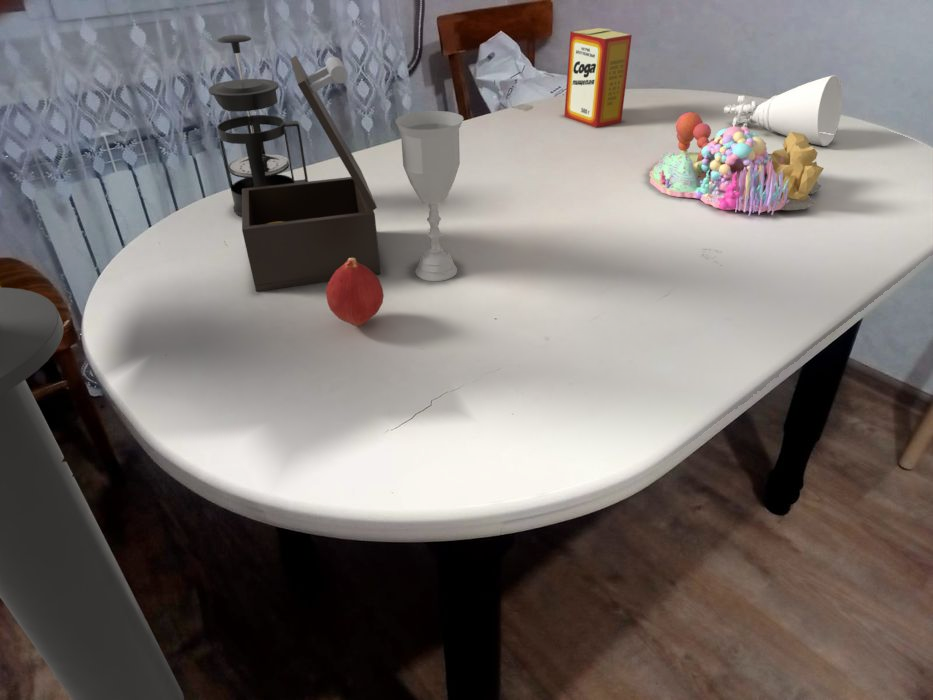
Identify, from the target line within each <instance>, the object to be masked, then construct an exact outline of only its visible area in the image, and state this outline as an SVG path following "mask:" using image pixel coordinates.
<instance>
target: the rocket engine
mask: <svg viewBox="0 0 933 700" xmlns="http://www.w3.org/2000/svg"><path fill="white" fill-rule="evenodd" d="M842 87H843V86H842V82H841V80H840V77H839V76H837V74H832V75H829V76H825V77H822V78H818V79H815V80H812V81H809V82H807V83H804V84H800V85H799V86H796V87H793V88H791V89H789V90H786V91H784V92H782V93H779V94H778V95H777V94H776V95H773V96H771V97H770V98H768V99H767V100H765V101H762V102H761V103H760V104H758V105H757V101H756V100H752V101H751V104H750V103H749V100H748V98H747V96H746V95H738V96H737V97H738V98H737V99H736V101H737V105H736V104H735V103H733V104H732V105H731V104H729V103H728V104H727V105H725V106H724V108H723V113H724V114H735V116H734V117H733V121H732V123H731V125H732V126H738V125H740V124H743V125H742V126H741V127H740V128H743V127H748V125H751V126H754V125H756V124H758V125H759V126H761V127H764V128H765V129H767V130H768V131H769V132H770V133H774V132H775V133H778V134H780V135H782V136H785V137H787V136H788V135H789V134H790V132H795V133H800V134H804V135H805V136H806V137H807V139H808V142H809V144H812V145H816V146H822V147H827V146H829V145H830V144H831V143H832V141H833V139H834V138H835V136H834V135H828V134H823V133H819V132H826V133H831V134H835V135H836V133H837V131H838V128H839V124H840V121H841V120H840V119H841V115H842V109H843V88H842Z"/></svg>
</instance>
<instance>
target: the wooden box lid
mask: <svg viewBox="0 0 933 700" xmlns="http://www.w3.org/2000/svg"><path fill="white" fill-rule="evenodd" d="M290 64H291V67H292V70H293V72H294V76H295V80H296V83H297V86H298V88H299V89H300V91H301V93H302V95H303V96H304V98H305V100H306V101H307V103H308V105H309V107H310V109H311V111H312V112H313V114H314V115H315V117H316V119H317V120H318V123H319V124H320V126H321V127H322V129H323V131H324V133H325V134H326V136H327V137H328V140H329V141H330V143H331V145H332V146H333V148H334V150H335V152H336V153H337V155H338V157H339V159H340V160H341V162H342V164H343V166H344V167H345V169H346V170H347V172H348V174H349V175H350V176H349V177H352V179H353V181H354V182H355V184H356V186H357V188H358V189H359V191H360V193H361V194H362V196H363V198H364V200H365V201H366V203H367V205H368V207H369V208H370V210H371V211H374V210H376V209H378V206H377V204H376V202H375V199H374V197H373V194H372V192H371V190H370V188H369V185H368V183H367V181H366V179H365V176H364V174H363V172H362V169H361V168H360V166H359V164H358V162H357V161H356V159H355V157H354V155H353V154H352V151H351V149H350V148H349V146H348V144H347V142H346V140H345V139H344V137H343V136H342V134H341V132H340V131H339V129H338V126H337V125H336V123H335V121H334V120H333V117H332V116H331V115H330V113H329V111H328V109H327V107H326V106H325V104H324V102H323V100H322V98H321V96H320V95H319V93H318V92H317V91H320V90H321V89H323V88H325V87H326V86H329V85H331V84H332V83H335V84H338V85H341V84H344V83H346V81H347V80H348V77H349V74H348V73H349V72H348V71H347V68H346V67H345V65H344V63H343V62H342V60H341V59H340V58H339V57H338V56H330V57H328V58H327V60H326V62H325V66H324V67H322V68H320V69H318V70H316V71H315V72H313V73H311V74H310V75H308V74H307V71H306V70H305V69H304V67H303V65H302V63H301V62H300V60H299V58H298V57H297V55H295V56H293V57H291V58H290Z"/></svg>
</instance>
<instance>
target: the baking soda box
mask: <svg viewBox="0 0 933 700" xmlns="http://www.w3.org/2000/svg"><path fill="white" fill-rule="evenodd" d="M631 43H632V34H629V33H624V32H619V31H615V30H613V29H611V28H601V27H594V28H593V27H592V28H586V29H580V30H573V31H570V34H569V45H568V46H569V47H568V48H569V49H568V60H567V73H566V89H565V103H564V117H565V118H568V119H571V120H574V121H577V122H579V123H582V124H585V125H588V126H591V127H594V128H596V129H597V128H601V127H607V126H610V125H614V124H618V123H622V121H623V111H624V102H625V95H626V88H627V87H626V86H627V79H628V78H627V77H628V69H629V61H630V53H631V46H632V45H631Z"/></svg>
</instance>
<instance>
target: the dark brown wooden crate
mask: <svg viewBox="0 0 933 700" xmlns="http://www.w3.org/2000/svg"><path fill="white" fill-rule="evenodd" d="M278 221H283V222H279V223H271V222H278ZM267 223H270V224H267ZM241 232H242V236H243V240H244V244H245V249H246V253H247V258H248V263H249V267H250V271H251V275H252V280H253V284H254V289H255V291H256V292H262V291H263V292H264V291H269V290H276V289H277V290H278V289H284V288H290V287H296V286H305V285H312V284H318V283H319V284H320V283H327V282H329V281H330V279H331V277H332V276H333V274H334V273H335V271H336V270H337V269H338V268H340V267H341V266H342V265H344V264H345V263H346V262H347V260H348V259H349V258H355V259H356V261H357V263H359V264H362V265H364V266H366V267H367V268H369V269H370V270H371V271H372V272H373V273H374V274H375V275H376V276H377V275H381V263H380V253H379V242H378V233H377V221H376V213H375V211H374V210H373V211H371V210H370V208H369V207H368V205H367V203H366V201H365V200H364V198H363V196H362V194H361V193H360V191H359V189H358V188H357V186H356V184H355V182H354V181H353V179H352V177H351V176H346V177H337V178H329V179H321V180H320V179H318V180H308V182H300V183H290V184H281V185H272V186H263V187H254V188H244V189H242V217H241Z"/></svg>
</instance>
